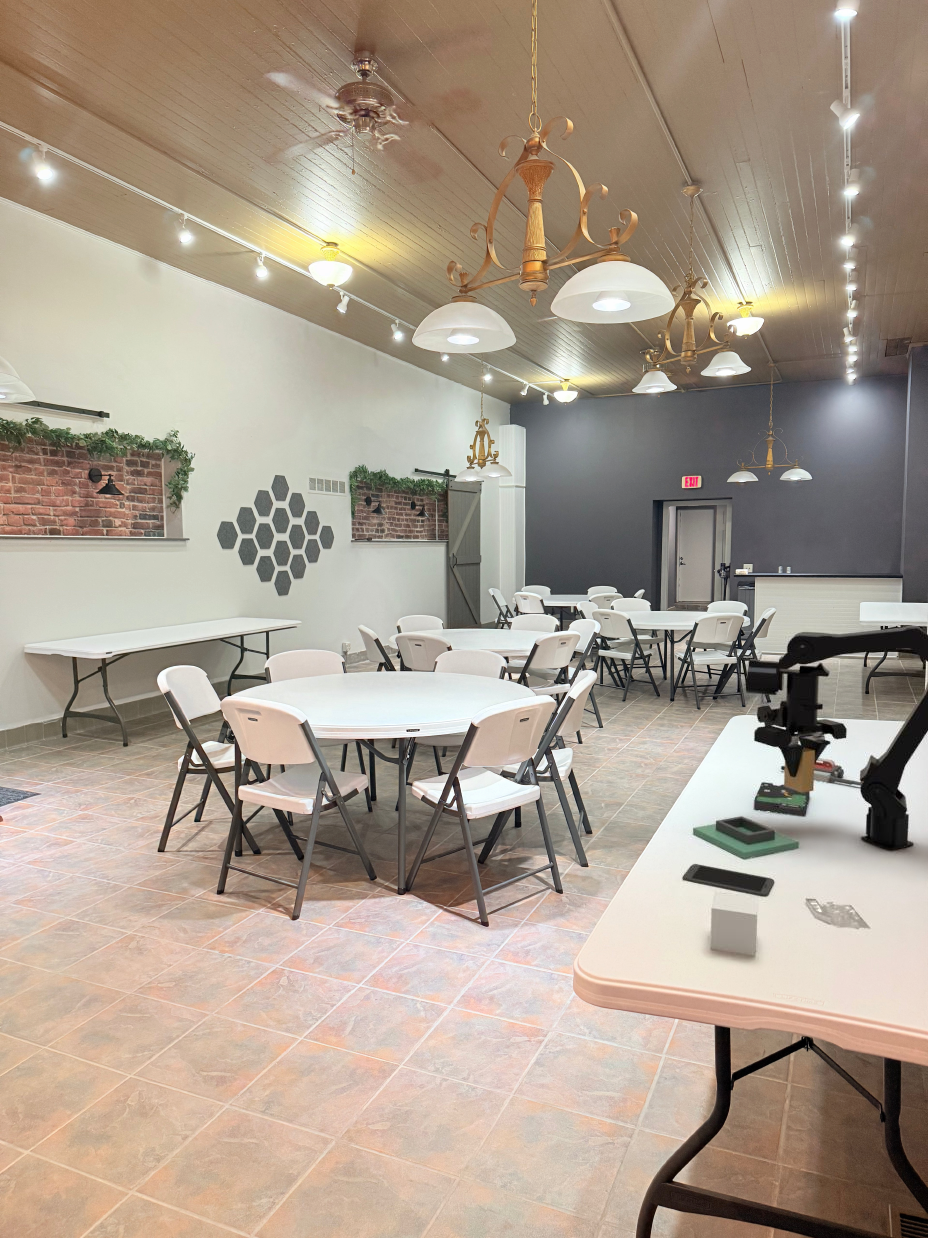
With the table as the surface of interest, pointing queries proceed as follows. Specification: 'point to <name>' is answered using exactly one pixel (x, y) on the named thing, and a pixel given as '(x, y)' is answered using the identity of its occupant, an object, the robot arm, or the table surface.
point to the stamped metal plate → (836, 914)
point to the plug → (802, 773)
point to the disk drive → (781, 800)
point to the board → (745, 837)
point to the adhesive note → (734, 923)
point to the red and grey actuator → (829, 772)
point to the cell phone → (729, 880)
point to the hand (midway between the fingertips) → (799, 775)
